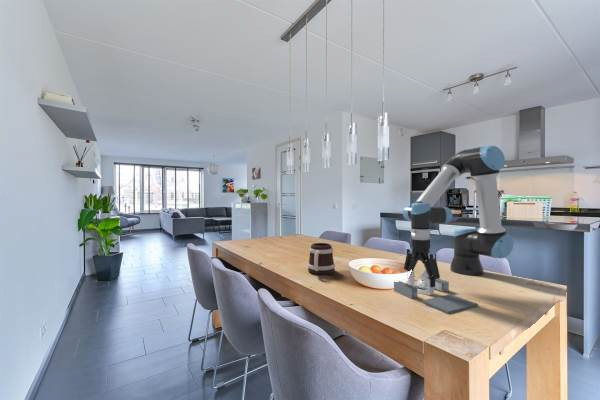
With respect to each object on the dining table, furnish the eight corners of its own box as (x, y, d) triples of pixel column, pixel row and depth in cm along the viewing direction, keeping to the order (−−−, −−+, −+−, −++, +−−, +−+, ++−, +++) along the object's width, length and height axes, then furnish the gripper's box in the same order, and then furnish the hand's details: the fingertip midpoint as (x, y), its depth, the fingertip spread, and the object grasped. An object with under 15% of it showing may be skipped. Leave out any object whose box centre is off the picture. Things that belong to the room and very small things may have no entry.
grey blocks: (429, 284, 125) (429, 275, 125) (448, 291, 115) (448, 281, 115) (393, 290, 116) (393, 281, 116) (411, 298, 107) (411, 288, 107)
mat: (451, 296, 110) (450, 294, 110) (478, 306, 99) (478, 303, 99) (421, 302, 103) (421, 300, 103) (447, 313, 93) (447, 311, 93)
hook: (446, 282, 112) (434, 273, 110) (427, 303, 113) (415, 295, 112) (435, 273, 119) (424, 265, 118) (418, 293, 120) (407, 286, 119)
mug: (311, 267, 158) (311, 241, 158) (337, 269, 153) (337, 242, 153) (301, 276, 139) (301, 247, 139) (330, 279, 134) (329, 249, 134)
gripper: (395, 235, 124) (395, 284, 125) (436, 243, 104) (436, 300, 104) (407, 234, 127) (407, 282, 128) (450, 241, 107) (450, 297, 107)
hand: (420, 290), depth 116 cm, fingers open, 10 cm apart
